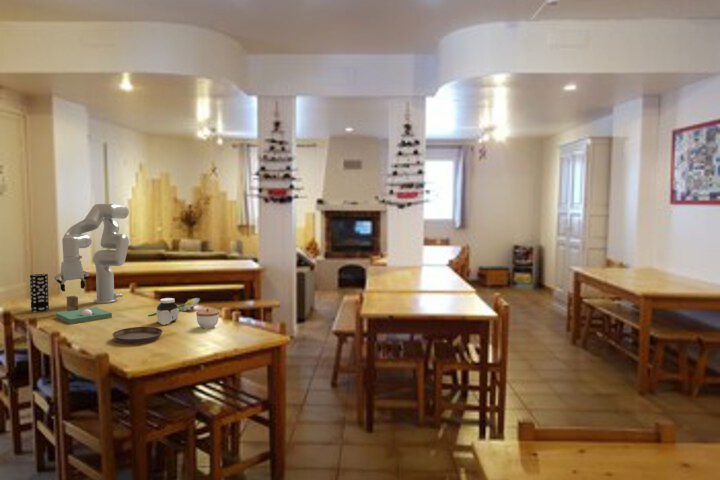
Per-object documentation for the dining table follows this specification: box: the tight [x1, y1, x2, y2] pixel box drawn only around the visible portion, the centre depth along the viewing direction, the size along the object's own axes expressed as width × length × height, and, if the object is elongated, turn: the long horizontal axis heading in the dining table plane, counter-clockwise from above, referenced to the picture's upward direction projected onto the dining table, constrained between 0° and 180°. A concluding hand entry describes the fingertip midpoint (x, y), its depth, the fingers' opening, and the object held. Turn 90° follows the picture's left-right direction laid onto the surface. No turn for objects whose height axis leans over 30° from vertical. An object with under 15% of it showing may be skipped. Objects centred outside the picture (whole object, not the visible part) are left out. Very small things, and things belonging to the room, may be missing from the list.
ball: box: [81, 308, 92, 316], centre depth 255 cm, size 5×5×5 cm
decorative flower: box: [147, 297, 201, 317], centre depth 275 cm, size 13×5×30 cm
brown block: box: [66, 295, 79, 312], centre depth 268 cm, size 4×5×9 cm
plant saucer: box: [111, 326, 164, 345], centre depth 221 cm, size 21×21×3 cm
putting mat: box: [55, 307, 113, 325], centre depth 258 cm, size 20×20×2 cm
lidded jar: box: [195, 308, 220, 329], centre depth 243 cm, size 11×11×9 cm
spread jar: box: [156, 297, 179, 326], centre depth 251 cm, size 12×11×12 cm
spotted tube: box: [29, 273, 50, 313], centre depth 273 cm, size 8×8×20 cm
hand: (73, 289), depth 269 cm, fingers open, 9 cm apart
